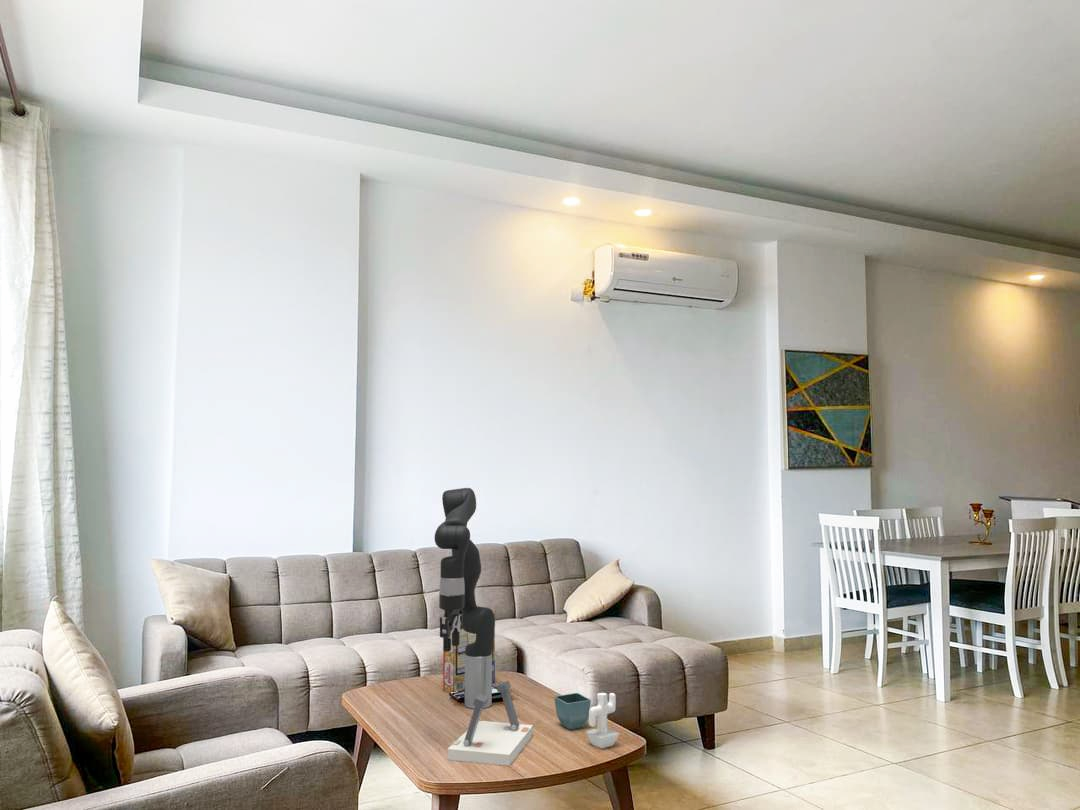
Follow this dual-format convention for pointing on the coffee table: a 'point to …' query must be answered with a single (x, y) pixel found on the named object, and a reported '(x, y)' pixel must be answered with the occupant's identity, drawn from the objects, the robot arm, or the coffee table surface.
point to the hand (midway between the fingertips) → (451, 648)
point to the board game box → (460, 663)
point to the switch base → (492, 744)
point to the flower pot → (572, 710)
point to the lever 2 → (508, 704)
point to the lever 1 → (475, 718)
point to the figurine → (602, 721)
